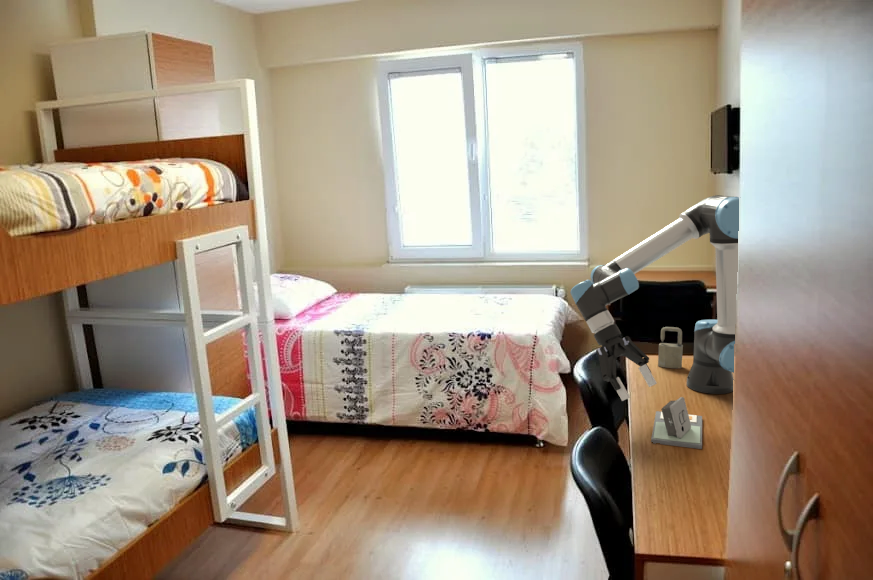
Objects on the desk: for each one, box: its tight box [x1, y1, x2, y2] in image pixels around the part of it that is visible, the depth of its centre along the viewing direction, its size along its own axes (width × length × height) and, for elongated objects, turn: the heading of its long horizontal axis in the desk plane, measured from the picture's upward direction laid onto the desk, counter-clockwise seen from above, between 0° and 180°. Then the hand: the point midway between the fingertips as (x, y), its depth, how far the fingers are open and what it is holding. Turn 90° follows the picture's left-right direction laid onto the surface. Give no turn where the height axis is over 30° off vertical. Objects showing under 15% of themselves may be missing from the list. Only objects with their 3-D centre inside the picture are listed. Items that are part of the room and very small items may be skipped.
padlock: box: [657, 326, 684, 369], centre depth 248 cm, size 4×8×15 cm, turn 66°
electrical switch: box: [661, 396, 691, 438], centre depth 187 cm, size 9×5×9 cm, turn 142°
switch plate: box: [650, 410, 703, 450], centre depth 192 cm, size 22×13×1 cm, turn 159°
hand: (640, 392), depth 197 cm, fingers open, 13 cm apart
